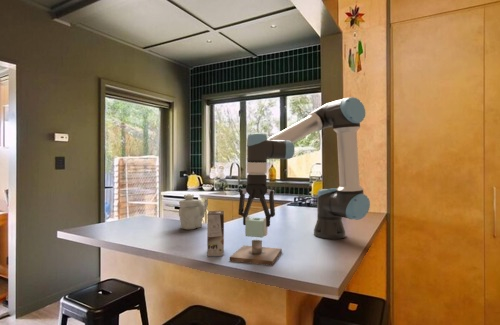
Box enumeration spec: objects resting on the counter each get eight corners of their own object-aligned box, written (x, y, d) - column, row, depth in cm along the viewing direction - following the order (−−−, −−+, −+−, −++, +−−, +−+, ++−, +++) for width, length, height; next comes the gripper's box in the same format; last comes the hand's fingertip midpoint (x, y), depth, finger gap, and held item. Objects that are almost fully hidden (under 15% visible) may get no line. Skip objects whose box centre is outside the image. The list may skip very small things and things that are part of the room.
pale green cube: (266, 233, 116) (266, 217, 116) (262, 237, 110) (262, 220, 110) (250, 232, 118) (250, 216, 118) (245, 236, 112) (245, 219, 112)
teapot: (207, 223, 176) (207, 191, 176) (209, 229, 161) (209, 194, 161) (178, 225, 172) (178, 192, 172) (178, 230, 158) (178, 195, 158)
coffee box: (223, 256, 115) (223, 214, 115) (206, 256, 114) (207, 214, 114) (223, 249, 124) (223, 210, 124) (208, 249, 123) (208, 210, 123)
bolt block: (281, 252, 119) (281, 237, 119) (272, 265, 104) (272, 248, 104) (243, 249, 124) (243, 234, 124) (229, 261, 109) (229, 244, 109)
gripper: (283, 174, 115) (283, 234, 114) (236, 173, 120) (235, 230, 120) (279, 174, 108) (279, 238, 107) (229, 173, 113) (229, 234, 113)
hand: (256, 234), depth 114 cm, fingers closed on pale green cube, 6 cm apart
